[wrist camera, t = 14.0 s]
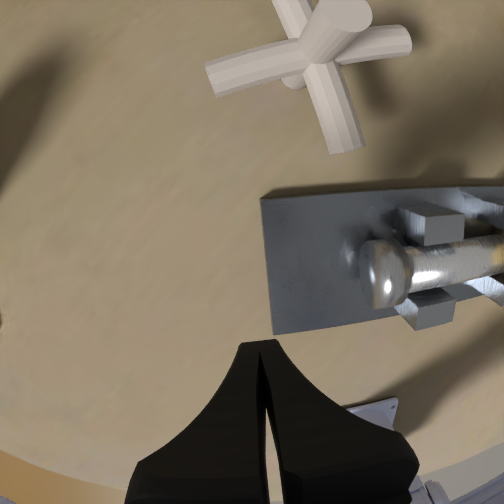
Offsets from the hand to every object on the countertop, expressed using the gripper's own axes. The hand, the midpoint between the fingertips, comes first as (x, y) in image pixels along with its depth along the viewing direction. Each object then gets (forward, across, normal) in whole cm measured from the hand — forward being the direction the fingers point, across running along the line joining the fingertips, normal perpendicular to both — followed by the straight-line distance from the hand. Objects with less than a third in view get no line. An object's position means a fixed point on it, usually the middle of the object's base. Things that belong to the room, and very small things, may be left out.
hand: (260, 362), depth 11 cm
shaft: (+9, -14, 0) cm, 16 cm away
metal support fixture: (+10, -14, 0) cm, 17 cm away
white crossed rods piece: (+10, -4, -12) cm, 16 cm away
